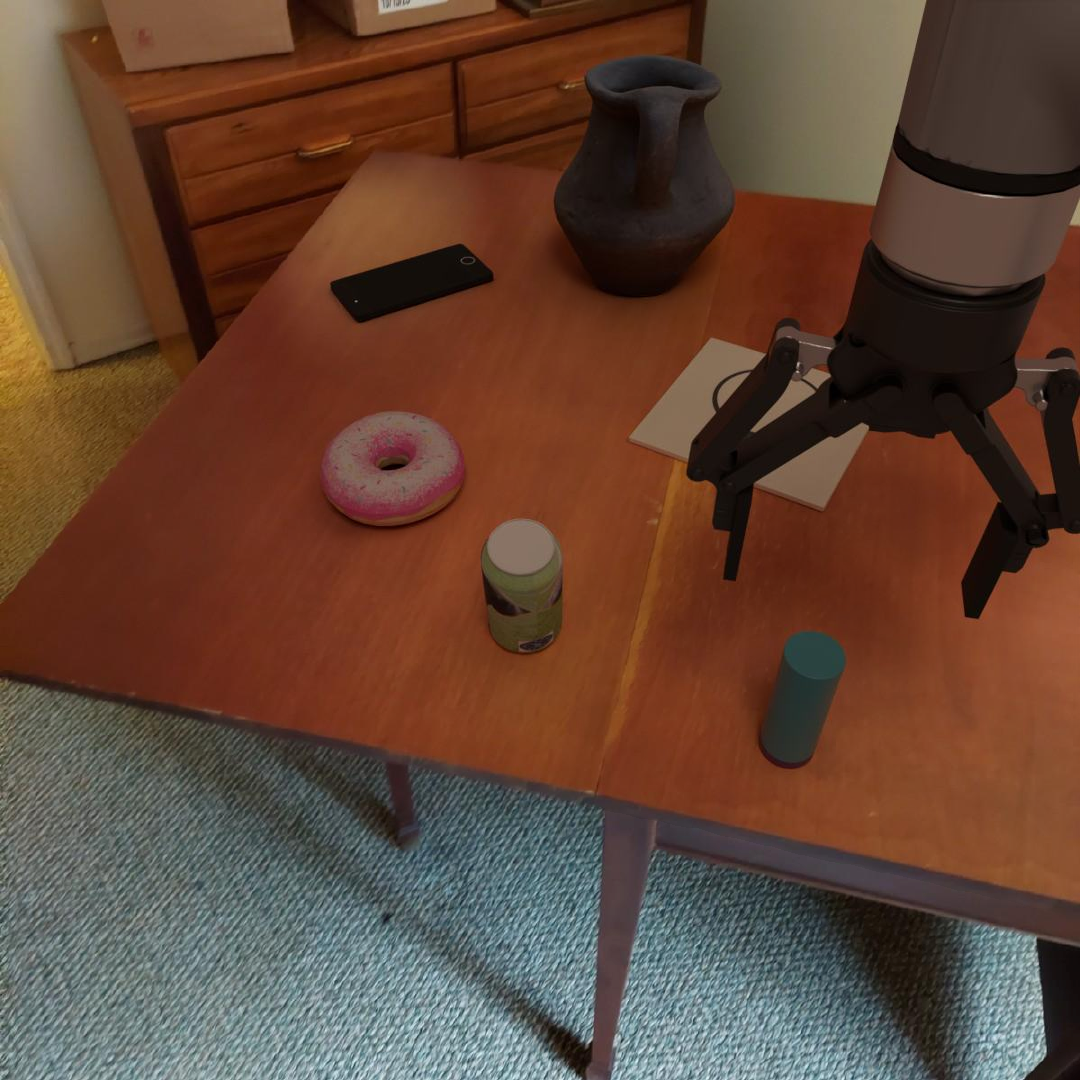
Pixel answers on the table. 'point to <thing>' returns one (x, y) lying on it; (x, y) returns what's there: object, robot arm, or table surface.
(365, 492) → the donut
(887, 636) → the table surface
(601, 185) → the pitcher
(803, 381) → the drawing sheet
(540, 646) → the beverage can
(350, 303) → the cell phone
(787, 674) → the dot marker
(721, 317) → the table surface
